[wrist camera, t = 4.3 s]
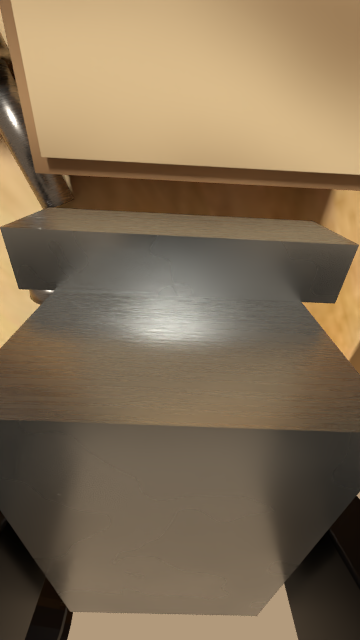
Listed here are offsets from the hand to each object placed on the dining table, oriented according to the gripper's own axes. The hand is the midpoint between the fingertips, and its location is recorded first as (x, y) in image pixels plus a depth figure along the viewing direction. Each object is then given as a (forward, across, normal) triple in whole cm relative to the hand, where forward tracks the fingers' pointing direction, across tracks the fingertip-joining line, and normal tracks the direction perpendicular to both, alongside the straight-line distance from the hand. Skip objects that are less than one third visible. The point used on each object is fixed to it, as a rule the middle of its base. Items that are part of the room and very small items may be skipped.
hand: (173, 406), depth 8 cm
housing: (+1, 0, 0) cm, 1 cm away
